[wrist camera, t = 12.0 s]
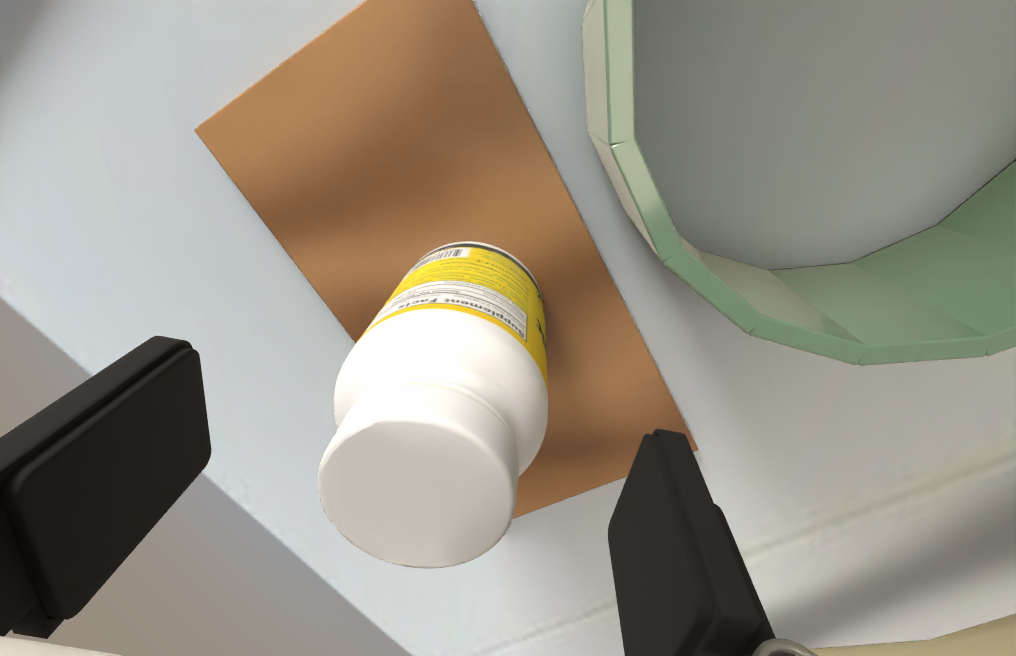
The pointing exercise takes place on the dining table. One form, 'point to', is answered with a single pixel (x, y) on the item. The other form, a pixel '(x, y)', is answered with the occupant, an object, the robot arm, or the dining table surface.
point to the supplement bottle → (440, 411)
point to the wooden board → (442, 210)
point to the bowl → (820, 289)
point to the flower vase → (943, 643)
